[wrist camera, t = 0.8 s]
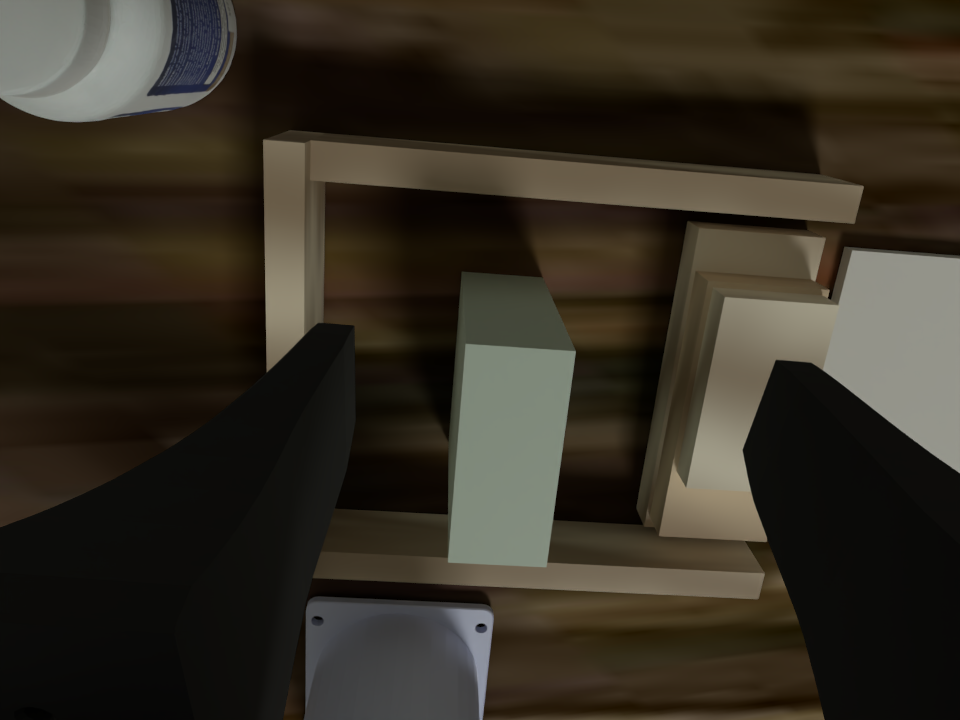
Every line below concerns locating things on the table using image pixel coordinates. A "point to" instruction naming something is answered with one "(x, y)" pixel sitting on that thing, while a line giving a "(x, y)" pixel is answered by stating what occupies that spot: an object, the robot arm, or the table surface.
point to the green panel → (506, 420)
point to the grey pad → (901, 342)
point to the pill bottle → (112, 55)
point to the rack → (684, 372)
